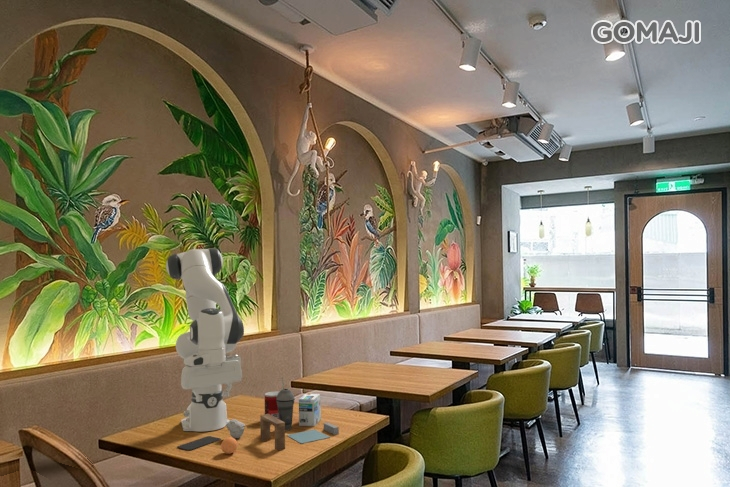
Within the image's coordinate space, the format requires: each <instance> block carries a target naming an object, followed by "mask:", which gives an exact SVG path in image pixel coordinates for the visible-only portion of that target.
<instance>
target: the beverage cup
mask: <svg viewBox="0 0 730 487" xmlns="http://www.w3.org/2000/svg"><path fill="white" fill-rule="evenodd" d="M281 382H282V389H281V390H279V391H280V392H279V393H278V395H277V399H276V401H277V406H278V416H279V420H281V421H283V422H285V432H286V431H290V430H292V425H293V416H294V404H295V395H294V393H293V391H292V390H290V389H288V388H285V383H284V377H282V378H281Z"/></svg>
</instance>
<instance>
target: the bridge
mask: <svg viewBox="0 0 730 487" xmlns="http://www.w3.org/2000/svg"><path fill="white" fill-rule="evenodd" d="M259 421H260V425H259V426H260V428H259V429H260V430H259V431H260V441H262V442H267V441H270V440H271V425H272V426H273V427H274V450H275V451H282V450H285V449H286V431H285V422H283V421H281V420H279V419H277V418H275V417H273V416H271V415H270V414H265V413H264V414H260V420H259Z"/></svg>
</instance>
